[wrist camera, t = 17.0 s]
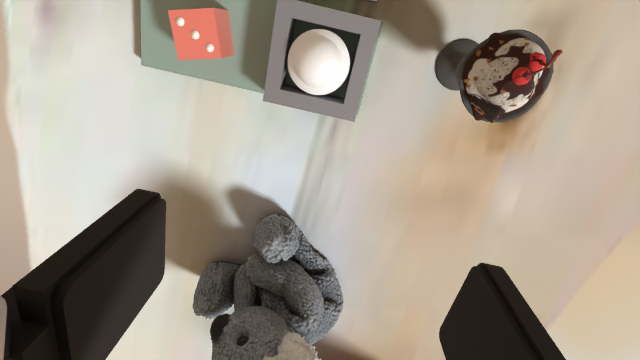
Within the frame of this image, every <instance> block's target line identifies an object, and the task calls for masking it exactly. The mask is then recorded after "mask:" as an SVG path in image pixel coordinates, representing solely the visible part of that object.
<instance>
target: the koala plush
mask: <svg viewBox="0 0 640 360" xmlns="http://www.w3.org/2000/svg"><path fill="white" fill-rule="evenodd" d="M253 235H254V237H253V242H254V246H255V247H256V248H257V250H258V252H257V253H254V255H251V256H250V257H248V260H249V261H246V263H245V264H243V265H237V264H232V263H225V262H219V263H211V264H208V265H207V267H206V268H205V269H204V271H203V272H202V274H201V276H200V278H199V281H198V285H197V288H196V290H195V294H194V303H193V309H194V313H196V314H195V315H197V316H204V317H206V319H207V318H208V317H209V318H210V319H212V318H215V319H214V321H213V322H212V325H211V329H210V334H211V340H212V343H213V346H212V348H213V350H212V351H213V352H212V360H322V359H321V358H320V359H319V358H318V356H317V353H318V352H317V351H315V348H316V347H315V346H311V345H313V344H315V343H316V342H317V341H318V340H320V339H322V338H323V337H324V336H325V335H326V334H327V333H328V332H329V330H330V329H331V328H332V327H333V326H334V324H335V322H337V319H338V318H339V315H340V313H341V311H342V309H343V303H344V302H343V295H342V292H341V289H340V288H341V287H340V285H339V281H338V279H336V273H335V271H334V269H333V268H332V265H330V264H329V261H327V260H326V259H323V258H322V257H321V256H320V255H319V254H318V253H317V252H314V251H313V250H312V248H311V246H310V244H309V242H308V241H307V239H305V236H304V234H302V232H301V231H300V229H299V228H298V226H297V225H296V224H295V223H294V222H293V221H291V220H290V219H288V218H287V217H284V216H277V214H271V215H270V216H269V215H268V216H267V217H265V218H264V219H262V220H261V221H260V222H259V223H257V225H256V227H255V229H254V233H253ZM232 304H234V309H235V312H233V313H232V314H231V315H229V314H223V312H224V311H226V310H228V308H230V307H232ZM221 314H223V315H221Z"/></svg>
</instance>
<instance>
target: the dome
mask: <svg viewBox="0 0 640 360" xmlns="http://www.w3.org/2000/svg"><path fill="white" fill-rule="evenodd" d="M349 67H350V57H349V53H348V50H347V47H346V45H345V43H344V42H343V40H342V39H341V38H340V37H339V36H338V35H336V34H335V33H333V32H331V31H329V30H324V29H313V30H309V31H307V32H305V33H303V34H301V35H300V36H299V37H298V38H297V39H296V40H295V41H294V42H293V44H292V46H291V48H290V50H289V54H288V70H289V73H290V76H291V78H292V80H293V81H294V83H295V84H296V85H297V86H298V87H299V88H300V89H301V90H303V91H305V92H307V93H309V94H313V95H325V94H328V93H331V92H333V91H335V90H336V89H337V88H339V87H340V86H341V85H342V83H343V82H344V81H345V79H346V77H347V75H348V72H349Z"/></svg>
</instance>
